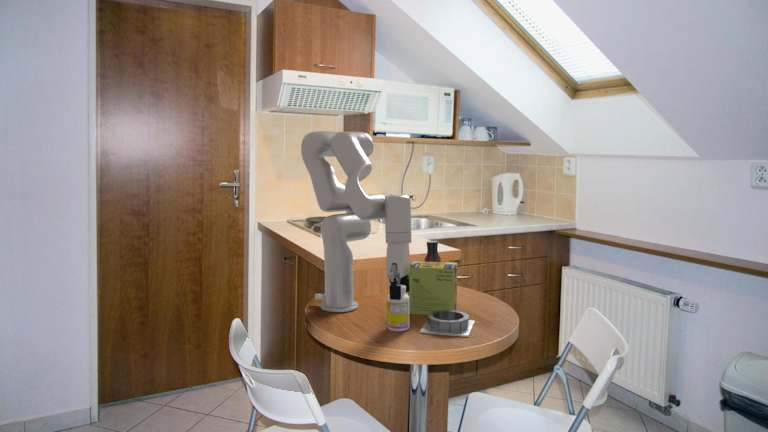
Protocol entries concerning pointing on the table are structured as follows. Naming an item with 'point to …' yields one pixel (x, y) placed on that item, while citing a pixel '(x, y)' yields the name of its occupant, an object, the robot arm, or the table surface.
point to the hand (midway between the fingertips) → (399, 295)
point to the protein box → (432, 287)
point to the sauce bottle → (432, 252)
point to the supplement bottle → (398, 312)
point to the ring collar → (448, 323)
